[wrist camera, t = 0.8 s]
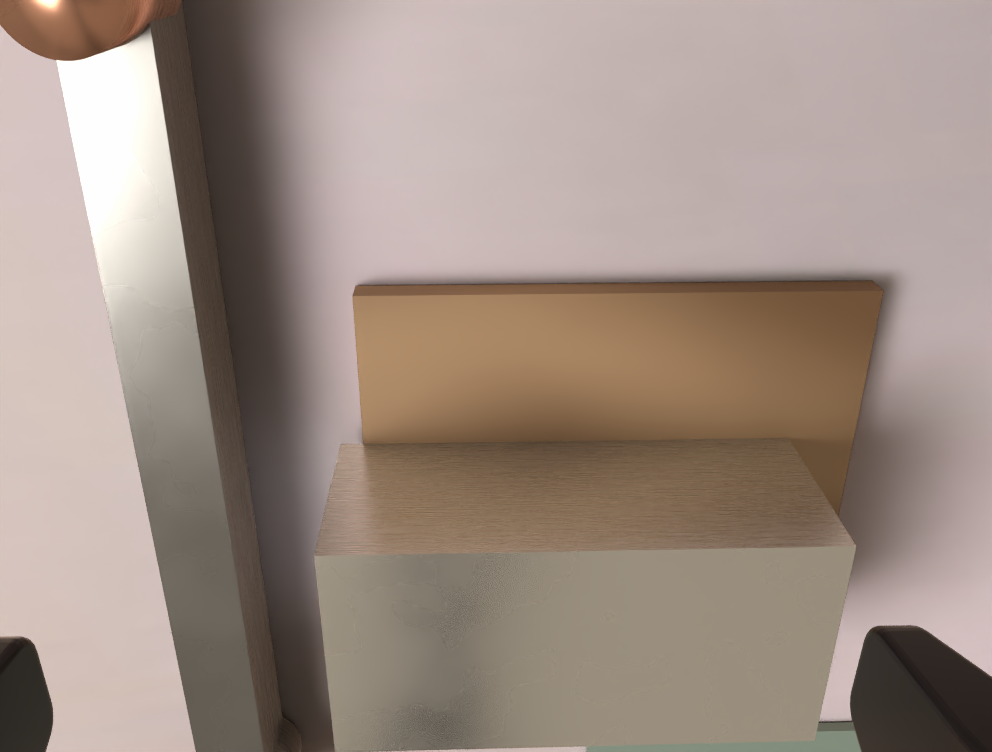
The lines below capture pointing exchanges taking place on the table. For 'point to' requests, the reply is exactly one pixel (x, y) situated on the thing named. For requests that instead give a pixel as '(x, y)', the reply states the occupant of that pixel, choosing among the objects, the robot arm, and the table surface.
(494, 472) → the stone-textured block
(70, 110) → the lever
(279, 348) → the table surface
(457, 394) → the plate
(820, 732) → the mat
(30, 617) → the table surface
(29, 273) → the table surface
